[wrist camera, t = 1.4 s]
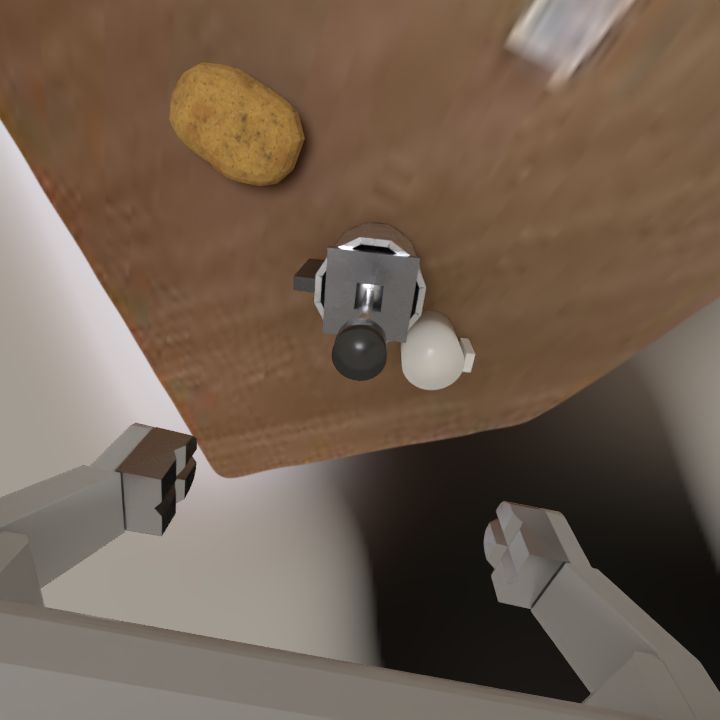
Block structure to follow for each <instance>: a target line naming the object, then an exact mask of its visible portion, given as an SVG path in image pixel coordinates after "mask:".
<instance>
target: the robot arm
mask: <svg viewBox="0 0 720 720" xmlns="http://www.w3.org/2000/svg"><path fill="white" fill-rule="evenodd" d="M196 449H197V438H196V437H195V436H191V435H187V434H183V433H178V432H174V431H170V430H166V429H162V428H157V427H156V428H155V427H151V426H147V425H143V424H138V423H135V424H133V425H130V426H129V427H128V428H127V429H126V430H125V431H124V432H123V433H122V434H121V435H120V436H119V438H117V439H116V440H115V441H114V442H113V443H112V444H111V446H109V447H108V448H107V449H106V450H105V451H104V453H102V454H101V455H100V456H99V457H98V458H97V459H96V461H94V462H93V464H92V465H91V466H84V465H83V466H80V467H77V468H75V469H72V470H70V471H67V472H65V473H62V474H60V475H57V476H55V477H52V478H49V479H47V480H44V481H42V482H39V483H36V484H34V485H31V486H29V487H26V488H24V489H21V490H19V491H16V492H13V493H11V494H8V495H6V496H3V497H1V498H0V720H720V692H719V691H718V690H717V688H716V686H715V685H714V683H713V682H712V680H711V679H710V677H709V676H708V674H707V672H706V671H705V669H704V668H703V666H702V665H701V663H700V662H699V661H698V660H697V659H696V658H695V657H694V656H693V655H692V654H690V653H689V652H688V651H687V650H686V649H685V648H684V647H683V646H682V645H681V644H679V643H678V642H677V641H676V640H675V639H674V638H673V637H672V636H671V635H669V634H668V633H667V632H666V631H665V630H664V629H663V628H662V627H661V626H660V625H658V624H657V623H656V622H655V621H654V620H653V619H652V618H651V617H650V616H649V615H647V614H646V613H645V612H644V611H643V610H642V609H640V607H639V606H638V605H636V604H635V603H634V602H633V601H632V600H631V599H630V598H629V597H627V596H626V595H625V594H624V593H623V592H622V591H621V590H620V589H619V588H618V587H616V586H615V585H614V584H613V583H612V582H611V581H610V580H609V579H608V578H606V576H604V575H603V574H602V573H601V572H600V571H599V570H598V569H594V568H591V566H590V564H589V562H588V560H587V558H586V556H585V555H584V553H583V551H582V549H581V547H580V545H579V543H578V542H577V540H576V538H575V536H574V534H573V532H572V530H571V528H570V526H569V525H568V523H567V521H566V519H565V517H564V516H563V515H562V514H561V513H560V512H557V511H552V510H547V509H541V508H540V509H539V508H536V507H531V506H525V505H521V504H516V503H511V502H505V501H504V502H502V503H501V504H500V505H499V507H498V509H497V510H496V512H497V515H498V518H497V519H495V520H494V521H492V522H490V523H489V525H488V527H487V529H486V531H485V537H484V550H485V554H486V558H487V560H488V561H489V563H490V564H491V565H492V566H493V567H494V568H495V569H494V571H493V573H492V575H491V577H492V580H493V584H494V587H495V591H496V595H497V598H498V601H499V602H502V603H507V604H511V605H516V606H520V607H525V608H529V609H532V610H531V612H532V613H533V615H534V616H535V617H536V619H537V620H538V621H539V623H540V624H541V625H542V627H543V628H544V630H545V631H546V632H547V634H548V635H549V636H550V638H551V639H552V641H553V642H554V643H555V645H556V646H557V647H558V649H559V650H560V652H561V653H562V654H563V655H564V657H565V658H566V660H567V661H568V662H569V664H570V665H571V667H572V668H573V669H574V671H575V672H576V673H577V675H578V676H579V678H580V679H581V680H582V682H583V683H584V684H585V686H586V687H587V688H588V690H589V691H590V693H591V695H590V696H589V697H588V698H587V699H586V700H585V701H583V703H582V704H580V703H574V702H568V701H563V700H557V699H551V698H546V697H541V696H535V695H530V694H524V693H518V692H513V691H507V690H502V689H496V688H490V687H485V686H479V685H474V684H469V683H463V682H458V681H452V680H446V679H441V678H435V677H430V676H424V675H419V674H412V673H408V672H402V671H396V670H390V669H385V668H380V667H374V666H369V665H363V664H358V663H352V662H346V661H341V660H335V659H330V658H324V657H318V656H313V655H307V654H301V653H296V652H291V651H285V650H280V649H274V648H268V647H263V646H257V645H252V644H246V643H241V642H235V641H230V640H223V639H218V638H213V637H207V636H202V635H196V634H191V633H185V632H179V631H174V630H168V629H163V628H157V627H152V626H146V625H141V624H135V623H130V622H124V621H118V620H113V619H108V618H102V617H97V616H91V615H86V614H80V613H74V612H69V611H63V610H58V609H52V608H46V607H45V605H44V601H43V598H42V593H41V590H40V589H41V588H42V587H44V586H45V585H47V584H48V583H50V582H51V581H52V580H54V579H55V578H57V577H59V576H60V575H62V574H63V573H65V572H66V571H68V570H69V569H71V568H72V567H74V566H75V565H77V564H78V563H80V562H81V561H82V560H84V559H86V558H87V557H88V556H90V555H91V554H93V553H94V552H96V551H97V550H99V549H100V548H102V547H103V546H105V545H106V544H108V543H109V542H111V541H112V540H114V539H115V538H117V537H118V536H120V535H121V534H123V533H124V532H125V530H127V531H133V532H139V533H145V534H151V535H157V536H162V535H163V533H164V532H165V530H166V528H167V527H168V525H169V523H170V522H171V520H172V519H173V517H174V515H175V513H176V503H178V502H179V501H181V500H183V499H185V497H186V495H187V493H188V492H189V490H190V487H191V485H192V482H193V479H194V476H195V471H196V461H195V460H194V458H193V457H192V455H193V454H194V452H195V451H196Z"/></svg>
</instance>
